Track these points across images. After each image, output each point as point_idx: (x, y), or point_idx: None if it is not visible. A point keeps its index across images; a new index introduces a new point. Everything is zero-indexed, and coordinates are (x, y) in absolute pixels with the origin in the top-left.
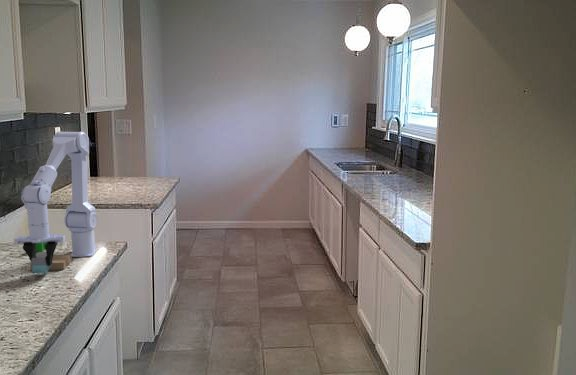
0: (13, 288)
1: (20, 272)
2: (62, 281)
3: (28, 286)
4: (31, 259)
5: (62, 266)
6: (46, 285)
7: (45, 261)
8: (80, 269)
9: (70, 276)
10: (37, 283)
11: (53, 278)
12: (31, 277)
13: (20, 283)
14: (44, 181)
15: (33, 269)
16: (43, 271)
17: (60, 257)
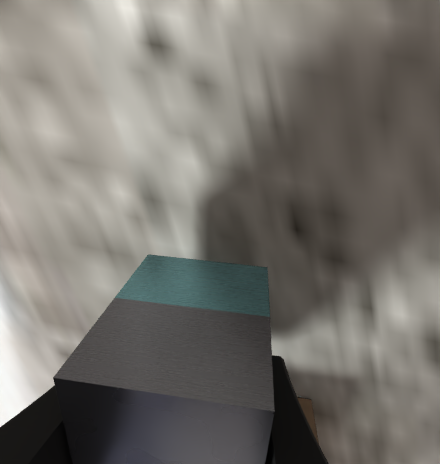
0: (410, 14)
1: (385, 395)
2: (18, 144)
3: (266, 57)
4: (272, 386)
5: None
6: (107, 58)
7: (92, 335)
8: (15, 353)
9: (13, 244)
10: (205, 132)
11: (116, 229)
12: (289, 286)
13: (356, 161)
14: None
15: (257, 288)
16: (166, 264)
17: None
